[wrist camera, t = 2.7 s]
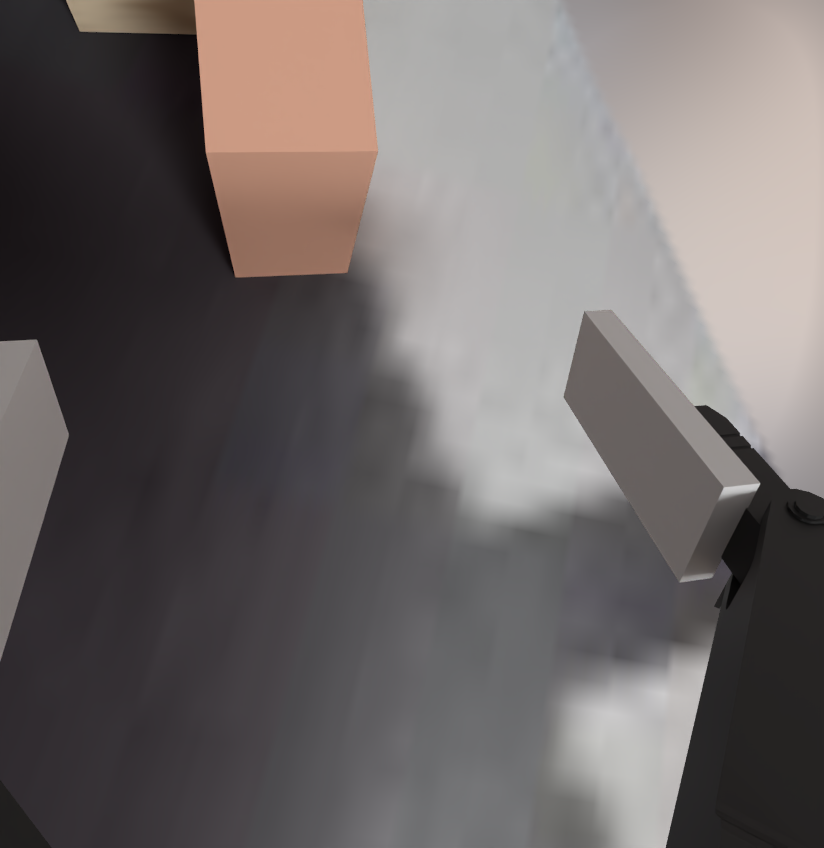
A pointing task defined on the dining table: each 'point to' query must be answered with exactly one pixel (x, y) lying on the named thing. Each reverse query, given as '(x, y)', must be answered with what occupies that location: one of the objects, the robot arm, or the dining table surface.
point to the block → (287, 129)
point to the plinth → (135, 16)
